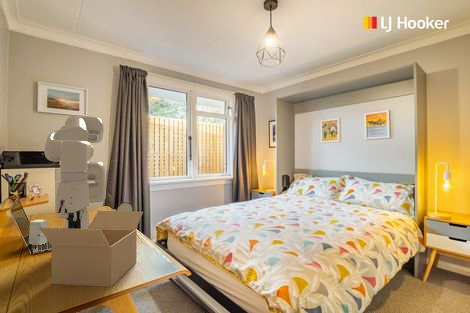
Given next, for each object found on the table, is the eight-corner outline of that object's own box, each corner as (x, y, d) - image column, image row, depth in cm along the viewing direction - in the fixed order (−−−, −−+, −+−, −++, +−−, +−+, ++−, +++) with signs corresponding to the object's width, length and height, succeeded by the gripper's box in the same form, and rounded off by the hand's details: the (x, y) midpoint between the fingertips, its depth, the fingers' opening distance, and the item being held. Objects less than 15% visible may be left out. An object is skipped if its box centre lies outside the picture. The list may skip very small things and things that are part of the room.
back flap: (98, 210, 107) (98, 211, 107) (88, 227, 100) (88, 228, 100) (142, 211, 106) (143, 212, 106) (135, 229, 99) (135, 230, 99)
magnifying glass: (116, 241, 121) (116, 203, 121) (115, 240, 123) (115, 203, 122) (133, 237, 128) (133, 201, 127) (132, 236, 129) (132, 201, 128)
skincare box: (28, 246, 115) (28, 221, 115) (36, 242, 119) (36, 219, 119) (40, 246, 115) (40, 222, 114) (48, 243, 119) (47, 219, 119)
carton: (51, 284, 82) (51, 244, 82) (86, 260, 100) (86, 228, 100) (111, 286, 81) (111, 246, 81) (136, 262, 99) (136, 229, 99)
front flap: (52, 244, 82) (51, 245, 82) (40, 227, 77) (39, 228, 77) (110, 246, 81) (109, 247, 80) (101, 229, 76) (100, 230, 75)
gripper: (79, 174, 85) (79, 224, 86) (44, 179, 70) (44, 239, 71) (99, 175, 85) (99, 224, 85) (68, 180, 70) (68, 240, 71)
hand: (74, 231), depth 78 cm, fingers closed
